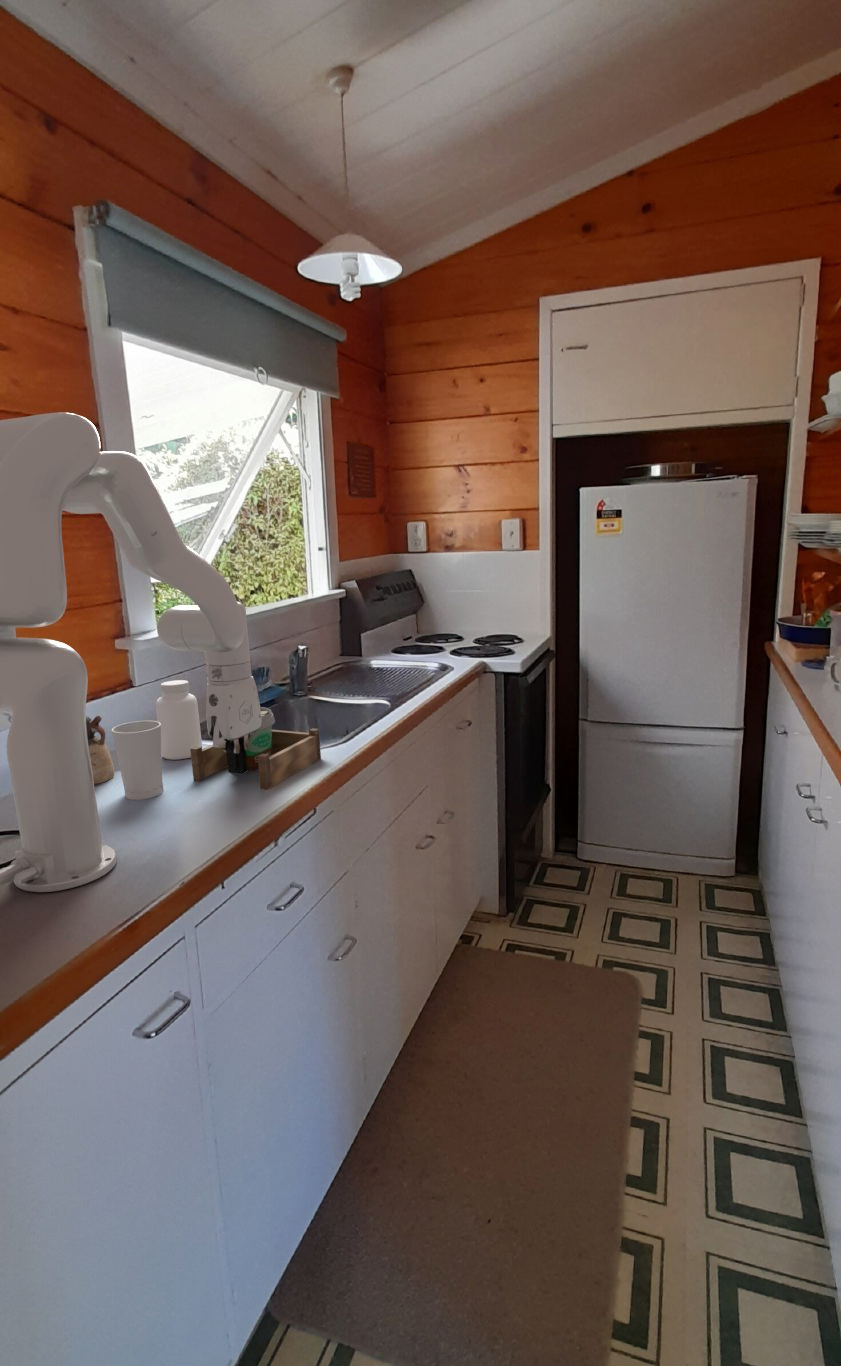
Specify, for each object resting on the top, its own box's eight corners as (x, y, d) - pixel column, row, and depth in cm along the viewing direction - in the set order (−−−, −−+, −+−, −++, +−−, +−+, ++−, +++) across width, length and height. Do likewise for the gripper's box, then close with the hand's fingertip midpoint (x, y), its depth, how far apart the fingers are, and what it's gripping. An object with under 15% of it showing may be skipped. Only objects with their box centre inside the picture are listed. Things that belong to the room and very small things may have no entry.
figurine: (84, 772, 141) (76, 712, 138) (121, 772, 140) (113, 711, 138) (65, 786, 134) (56, 722, 131) (104, 785, 133) (95, 721, 131)
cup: (137, 784, 133) (129, 720, 131) (177, 785, 131) (169, 720, 129) (110, 800, 125) (101, 732, 123) (152, 802, 124) (144, 733, 121)
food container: (256, 776, 135) (251, 723, 132) (227, 774, 137) (222, 722, 134) (289, 756, 146) (286, 707, 144) (262, 754, 148) (258, 705, 146)
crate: (267, 789, 128) (264, 756, 126) (193, 780, 134) (190, 748, 133) (320, 758, 144) (318, 728, 143) (252, 751, 150) (250, 722, 149)
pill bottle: (191, 746, 155) (184, 676, 152) (209, 754, 150) (202, 681, 146) (155, 755, 150) (146, 683, 147) (172, 763, 144) (163, 688, 141)
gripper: (219, 682, 121) (229, 788, 125) (271, 665, 134) (279, 761, 138) (182, 679, 124) (193, 783, 128) (237, 663, 137) (246, 758, 141)
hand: (238, 772), depth 133 cm, fingers closed
